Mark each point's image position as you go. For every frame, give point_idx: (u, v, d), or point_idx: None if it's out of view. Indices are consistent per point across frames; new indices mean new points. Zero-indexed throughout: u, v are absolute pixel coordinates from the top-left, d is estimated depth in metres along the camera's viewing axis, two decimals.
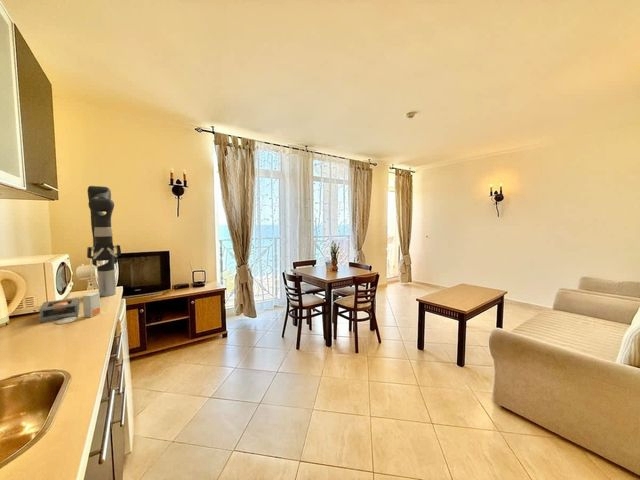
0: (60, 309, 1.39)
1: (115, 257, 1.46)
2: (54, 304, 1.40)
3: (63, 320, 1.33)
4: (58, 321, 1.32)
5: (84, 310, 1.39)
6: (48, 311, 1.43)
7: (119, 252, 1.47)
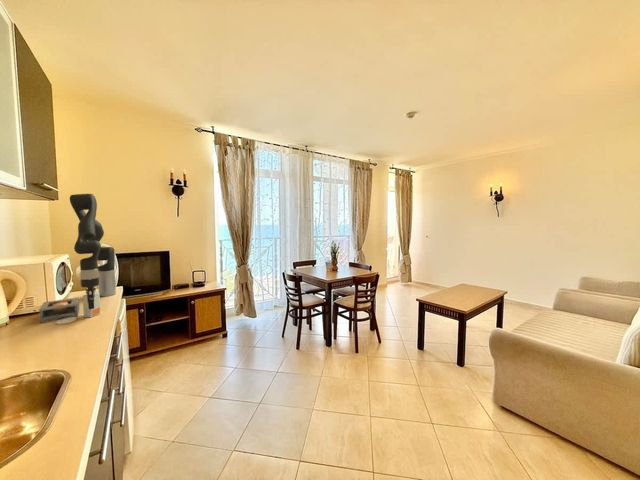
0: (60, 309, 1.39)
1: None
2: (54, 304, 1.40)
3: (63, 320, 1.33)
4: (58, 321, 1.32)
5: (84, 310, 1.39)
6: (48, 311, 1.43)
7: None
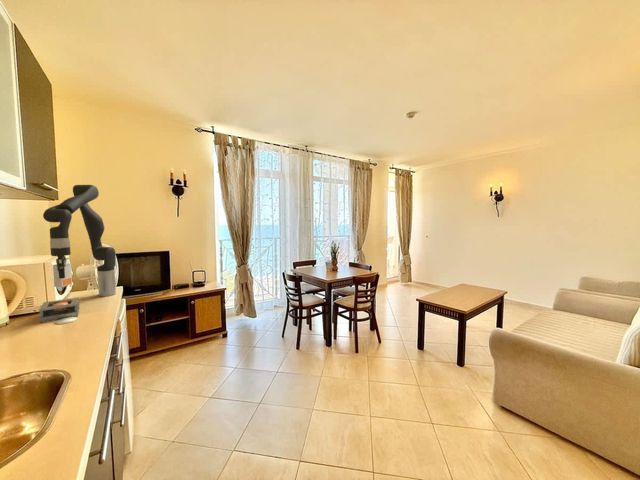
0: (60, 309, 1.39)
1: None
2: (54, 304, 1.40)
3: (63, 320, 1.33)
4: (58, 321, 1.32)
5: (54, 279, 1.37)
6: (48, 311, 1.43)
7: None
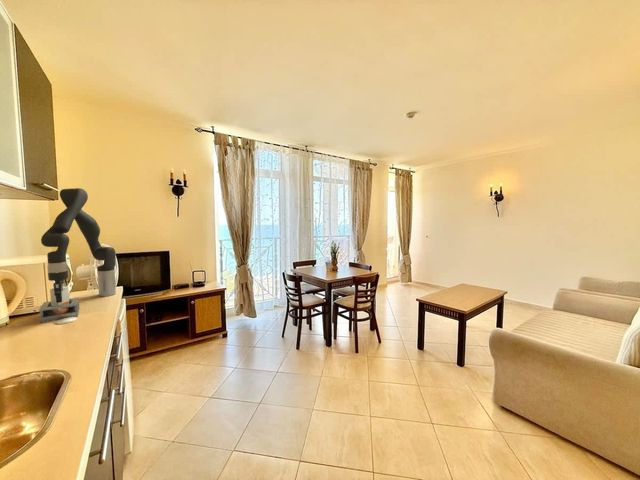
0: None
1: None
2: None
3: (63, 320, 1.33)
4: (58, 321, 1.32)
5: (52, 304, 1.38)
6: (48, 311, 1.43)
7: None
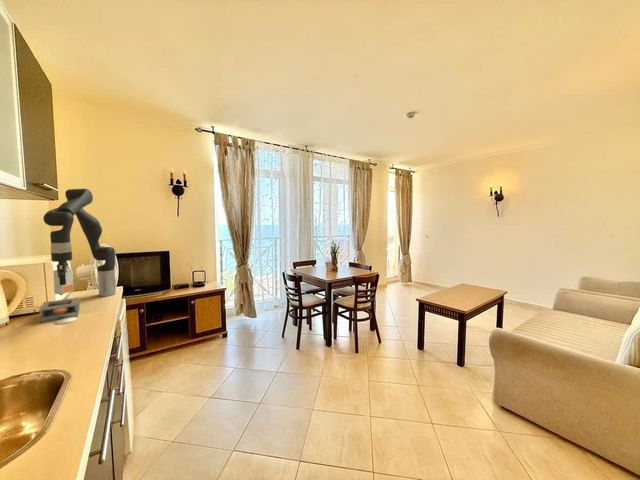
0: None
1: None
2: None
3: (63, 320, 1.33)
4: (58, 321, 1.32)
5: (55, 286, 1.30)
6: (48, 311, 1.43)
7: None
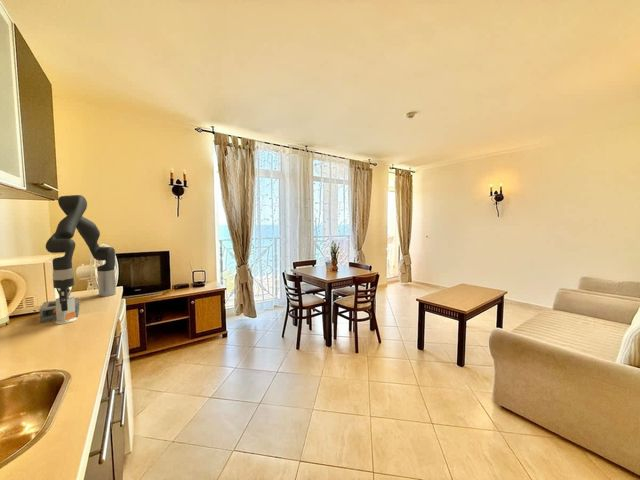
0: None
1: None
2: None
3: None
4: None
5: (57, 314, 1.31)
6: (48, 311, 1.43)
7: None
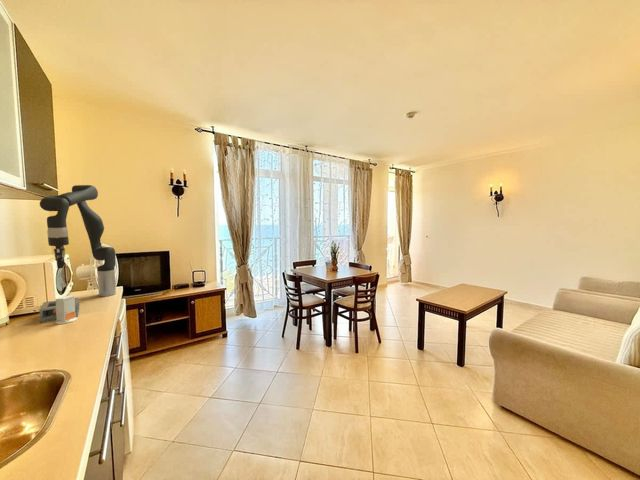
0: None
1: None
2: None
3: None
4: None
5: (57, 314, 1.31)
6: (48, 311, 1.43)
7: None
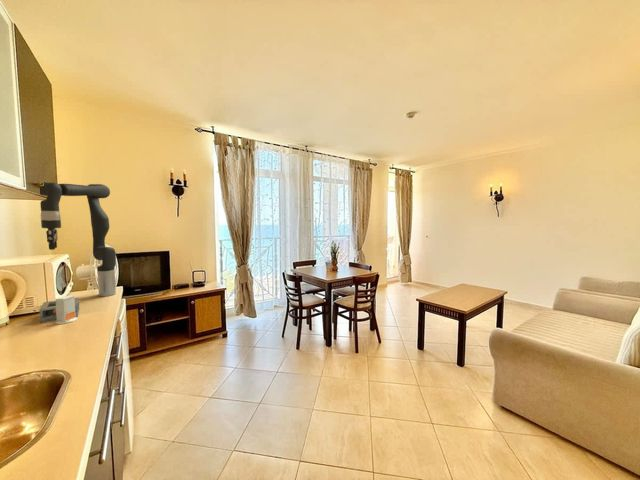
0: None
1: (56, 241, 1.47)
2: None
3: None
4: None
5: (57, 314, 1.31)
6: (48, 311, 1.43)
7: None
